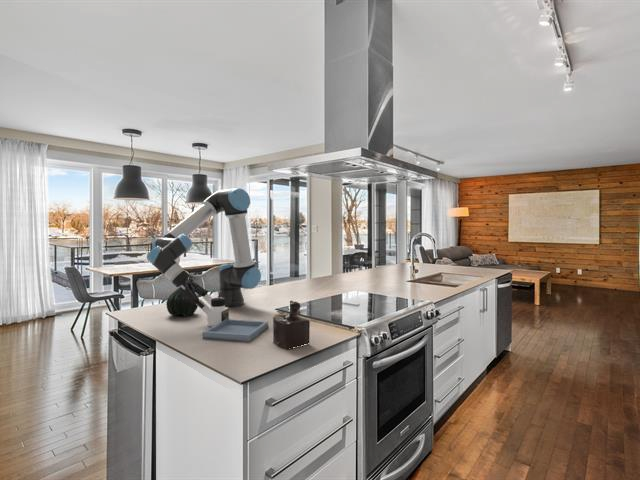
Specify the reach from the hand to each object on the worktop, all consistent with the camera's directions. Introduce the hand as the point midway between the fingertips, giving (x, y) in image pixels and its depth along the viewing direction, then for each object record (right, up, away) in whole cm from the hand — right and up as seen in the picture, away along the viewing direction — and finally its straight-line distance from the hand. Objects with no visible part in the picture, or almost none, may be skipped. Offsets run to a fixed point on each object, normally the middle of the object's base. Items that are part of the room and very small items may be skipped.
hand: (212, 308), depth 164 cm
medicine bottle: (+2, -8, +1) cm, 8 cm away
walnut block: (+31, -8, -2) cm, 32 cm away
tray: (+14, -8, -11) cm, 20 cm away
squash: (-21, -7, +19) cm, 29 cm away
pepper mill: (+39, -9, -27) cm, 48 cm away
